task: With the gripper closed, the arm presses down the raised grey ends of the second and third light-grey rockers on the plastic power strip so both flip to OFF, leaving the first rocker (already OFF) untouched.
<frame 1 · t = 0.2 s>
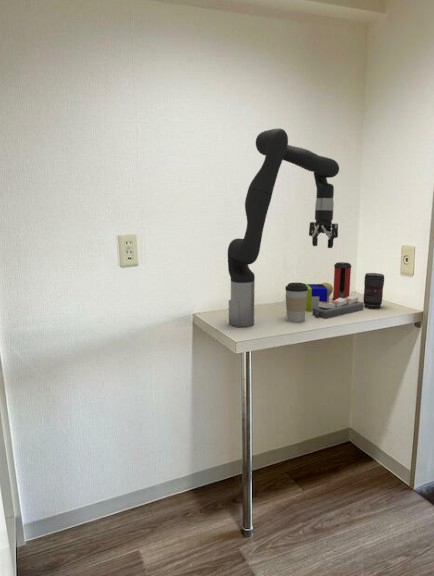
hand: (322, 246, 184), 27 cm above the table, fingers open, 8 cm apart
light bulb: (324, 304, 194), on the table, touching puzzle toy
speaker: (340, 301, 200), on the table
rocker 3: (350, 299, 184), point 4 cm above the table, hinge at -11.0°
puzzle toy: (312, 308, 188), on the table, touching light bulb
power strip: (338, 312, 181), on the table
camera lens: (372, 307, 188), on the table
rocker 1: (326, 304, 176), point 4 cm above the table, hinge at 11.0°
coffee cup: (295, 319, 171), on the table
rocker 2: (338, 302, 180), point 4 cm above the table, hinge at -11.0°
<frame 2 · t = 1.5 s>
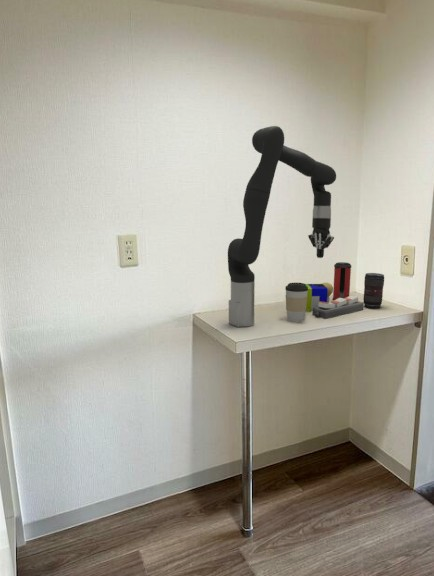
hand: (320, 257, 181), 23 cm above the table, fingers closed
nothing on the table moved.
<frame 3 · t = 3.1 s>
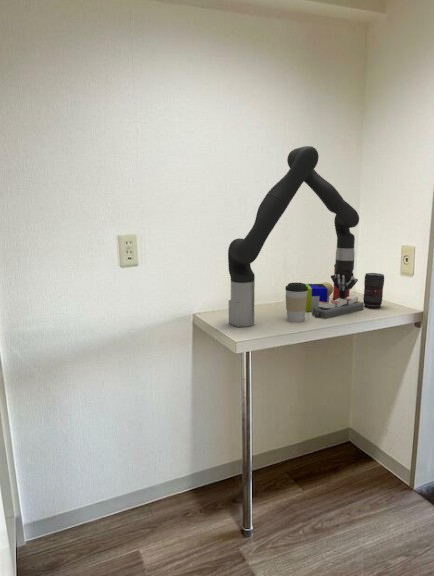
hand: (343, 298, 181), 6 cm above the table, fingers closed
rocker 2: (338, 302, 180), point 4 cm above the table, hinge at -10.9°, touching gripper
everything else where it was.
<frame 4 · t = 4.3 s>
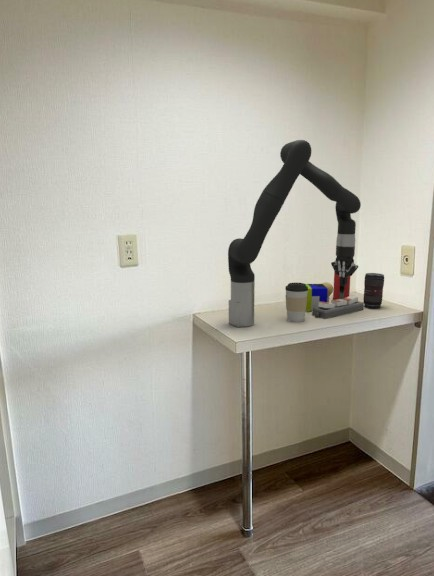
hand: (343, 285, 179), 11 cm above the table, fingers closed
rocker 2: (338, 302, 180), point 4 cm above the table, hinge at 2.0°
everything else where it was.
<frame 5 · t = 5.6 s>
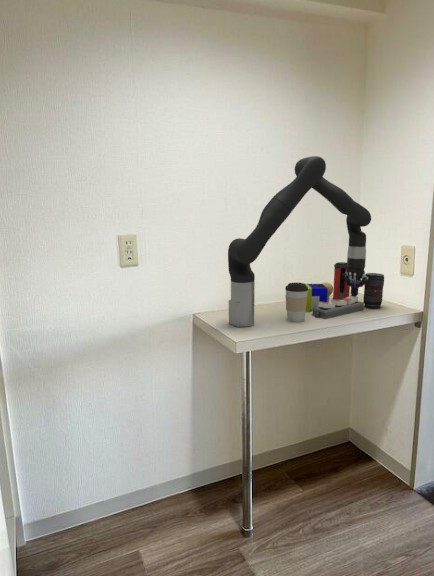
hand: (354, 295, 185), 6 cm above the table, fingers closed
rocker 3: (350, 299, 184), point 4 cm above the table, hinge at -11.0°, touching gripper
rocker 2: (339, 302, 180), point 4 cm above the table, hinge at 9.2°
everything else where it was.
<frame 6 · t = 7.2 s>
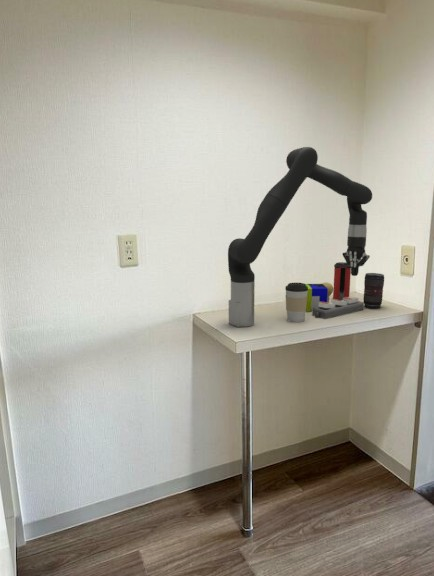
hand: (354, 275, 183), 15 cm above the table, fingers closed
rocker 3: (350, 299, 184), point 4 cm above the table, hinge at 2.2°
rocker 2: (339, 302, 180), point 4 cm above the table, hinge at 13.4°
everything else where it was.
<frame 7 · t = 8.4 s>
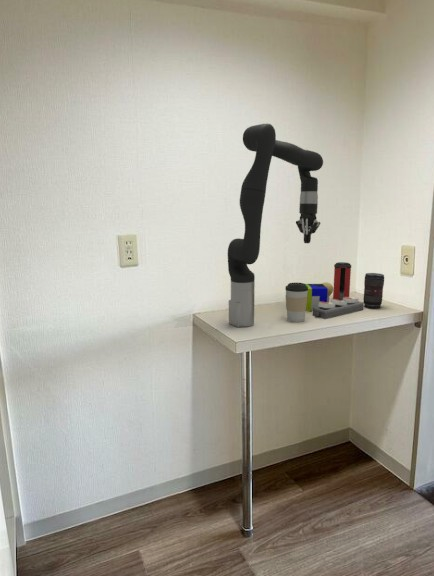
hand: (307, 243, 184), 29 cm above the table, fingers closed
rocker 3: (350, 299, 184), point 4 cm above the table, hinge at 6.9°
rocker 2: (339, 302, 180), point 4 cm above the table, hinge at 14.9°
everything else where it was.
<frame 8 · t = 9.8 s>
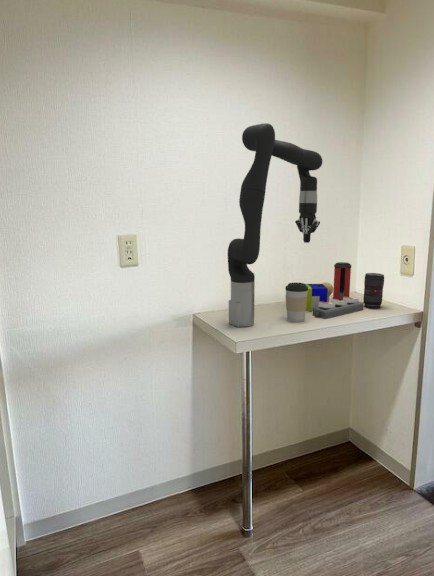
hand: (306, 242, 184), 29 cm above the table, fingers closed
rocker 3: (350, 299, 184), point 4 cm above the table, hinge at 9.7°
rocker 2: (339, 302, 180), point 4 cm above the table, hinge at 15.8°
everything else where it was.
at the end: rocker 2 at +16° (first picture: -11°); rocker 3 at +10° (first picture: -11°); rocker 1 at +11° (first picture: +11°) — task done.
